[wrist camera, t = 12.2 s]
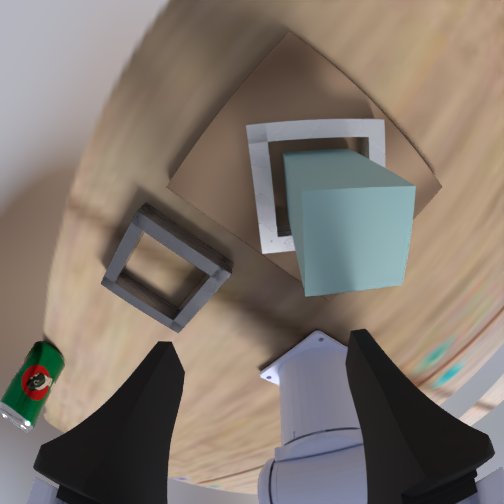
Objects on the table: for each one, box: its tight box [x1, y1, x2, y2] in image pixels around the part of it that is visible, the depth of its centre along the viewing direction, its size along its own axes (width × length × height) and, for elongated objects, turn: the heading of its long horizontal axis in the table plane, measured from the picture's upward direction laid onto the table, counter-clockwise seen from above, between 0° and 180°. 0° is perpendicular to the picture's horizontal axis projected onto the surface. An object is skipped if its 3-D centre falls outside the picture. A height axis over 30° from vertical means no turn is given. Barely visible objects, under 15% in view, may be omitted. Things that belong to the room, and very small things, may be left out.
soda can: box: [0, 341, 65, 433], centre depth 23 cm, size 5×5×12 cm
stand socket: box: [101, 203, 233, 333], centre depth 20 cm, size 8×8×2 cm
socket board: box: [166, 32, 442, 301], centre depth 16 cm, size 14×12×2 cm
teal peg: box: [282, 149, 416, 297], centre depth 13 cm, size 4×4×8 cm
